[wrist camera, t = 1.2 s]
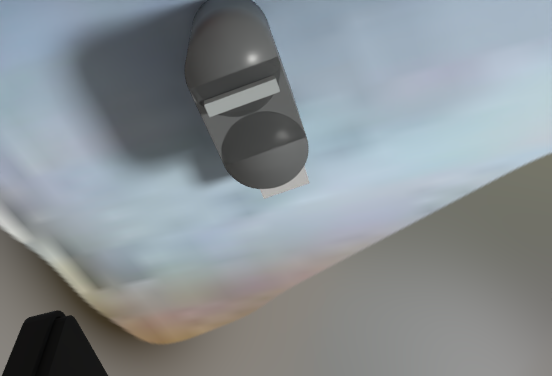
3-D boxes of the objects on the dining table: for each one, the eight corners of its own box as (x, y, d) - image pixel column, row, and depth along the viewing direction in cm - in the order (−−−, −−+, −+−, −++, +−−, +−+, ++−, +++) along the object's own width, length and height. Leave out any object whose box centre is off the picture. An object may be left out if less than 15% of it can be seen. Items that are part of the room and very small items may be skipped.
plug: (178, 10, 26) (167, 48, 21) (253, -19, 26) (262, 12, 20) (249, 172, 31) (255, 237, 26) (312, 149, 31) (332, 211, 26)
